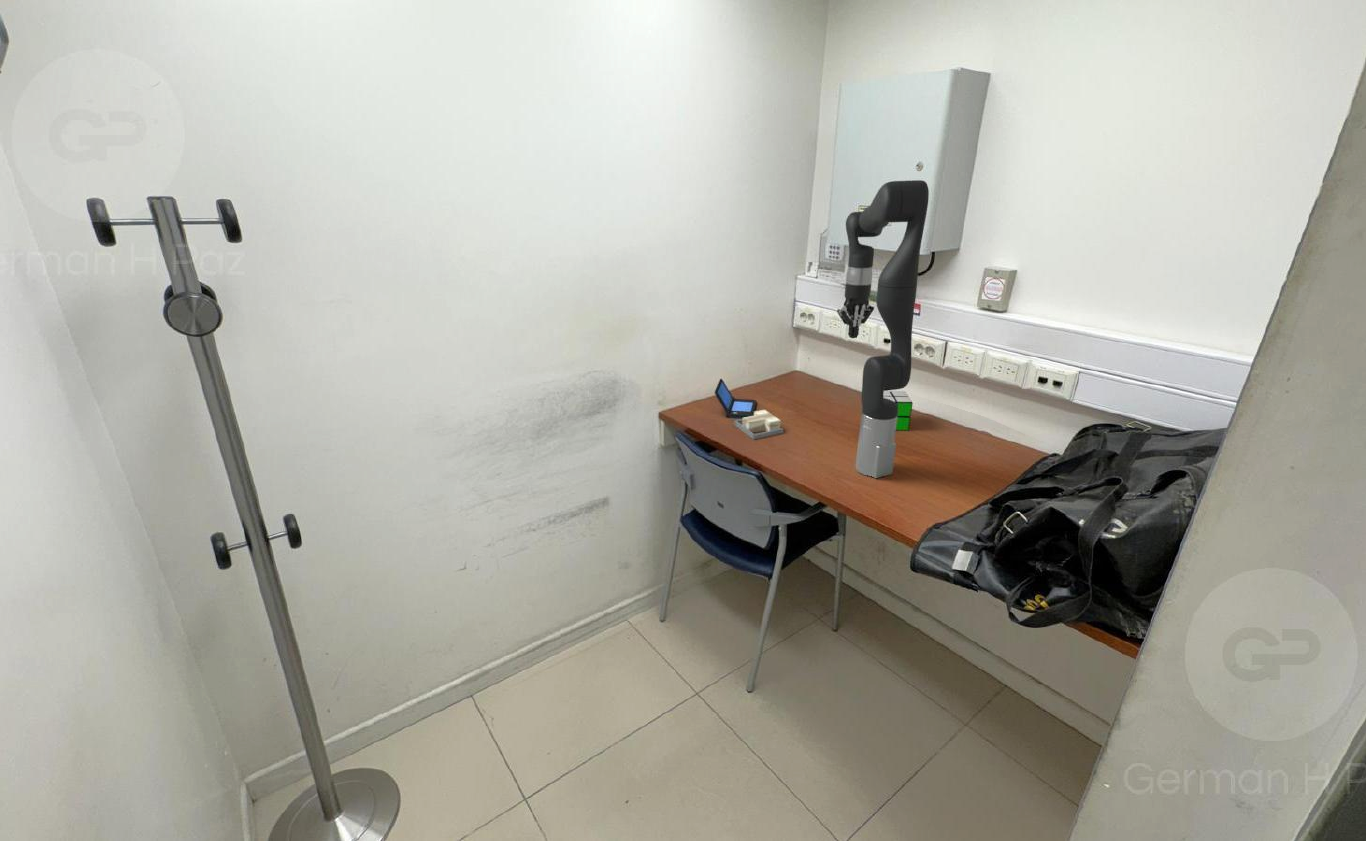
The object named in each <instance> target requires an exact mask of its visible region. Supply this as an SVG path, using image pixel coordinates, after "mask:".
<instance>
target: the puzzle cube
mask: <svg viewBox="0 0 1366 841" xmlns="http://www.w3.org/2000/svg"><path fill="white" fill-rule="evenodd" d="M883 398H886V399H889V400H892V401H894V402H895V403H896V404H897V405H898V416H897V423H896V430H895V431H905V432H906V431H909V429H910V424H911V415H912V409H913V401H912V400H911V399H910V397H909V395H908V394H907V393H906V391H903V390H902V391H901V390H899V391H898V390H888V391H884V394H883Z"/></svg>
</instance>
